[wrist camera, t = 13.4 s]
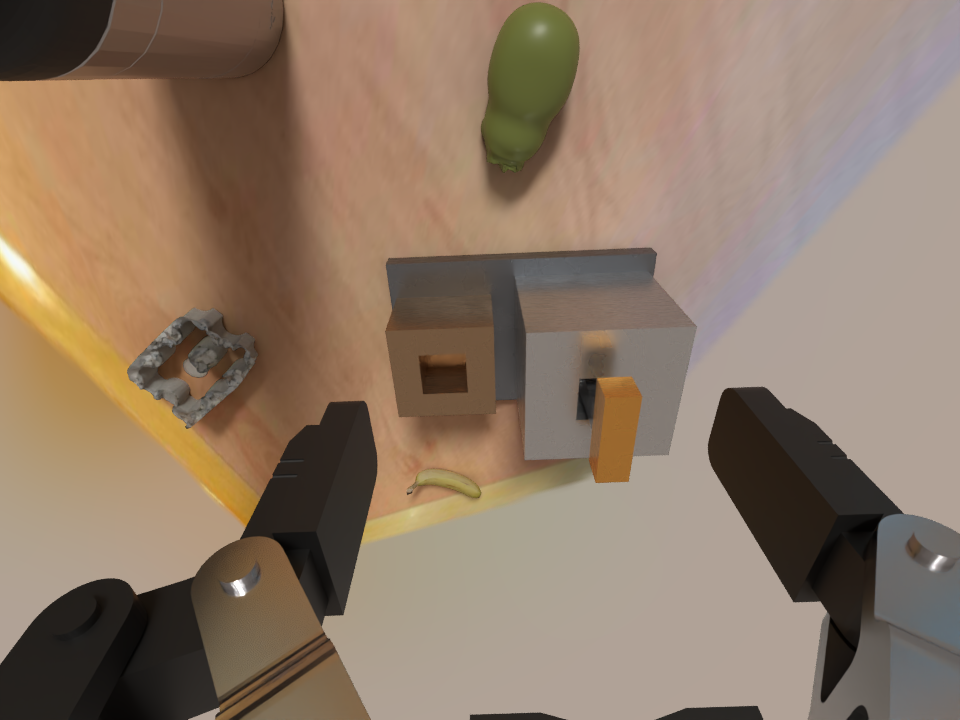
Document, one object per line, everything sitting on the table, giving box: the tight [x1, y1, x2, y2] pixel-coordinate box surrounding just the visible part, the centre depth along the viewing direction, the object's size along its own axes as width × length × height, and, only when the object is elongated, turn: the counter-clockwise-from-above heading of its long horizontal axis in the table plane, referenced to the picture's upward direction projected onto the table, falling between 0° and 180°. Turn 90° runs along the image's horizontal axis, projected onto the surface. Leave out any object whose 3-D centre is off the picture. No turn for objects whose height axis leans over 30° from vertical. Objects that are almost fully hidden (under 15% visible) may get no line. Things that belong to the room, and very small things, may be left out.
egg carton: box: [127, 308, 258, 429], centre depth 43 cm, size 11×8×4 cm
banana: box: [407, 469, 481, 498], centre depth 51 cm, size 8×2×4 cm, turn 72°
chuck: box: [385, 248, 697, 460], centre depth 38 cm, size 22×14×12 cm, turn 92°
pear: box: [481, 3, 580, 173], centre depth 32 cm, size 6×5×10 cm
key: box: [579, 376, 642, 483], centre depth 34 cm, size 7×2×8 cm, turn 3°
